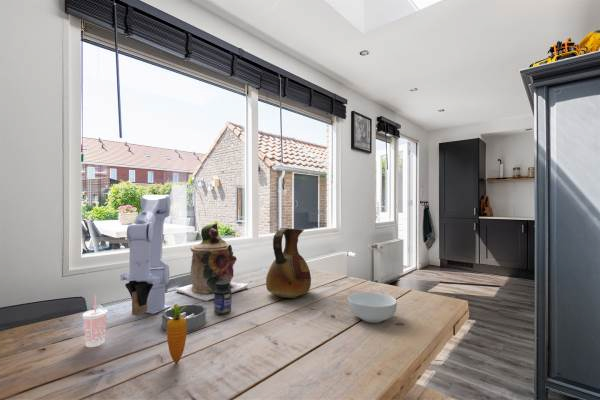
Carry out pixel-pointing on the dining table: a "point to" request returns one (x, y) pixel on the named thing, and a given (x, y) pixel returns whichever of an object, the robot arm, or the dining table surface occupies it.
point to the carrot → (176, 333)
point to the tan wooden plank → (137, 305)
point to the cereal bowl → (372, 306)
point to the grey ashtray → (188, 316)
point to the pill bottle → (222, 298)
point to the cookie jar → (211, 265)
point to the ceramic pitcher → (288, 266)
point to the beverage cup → (95, 326)
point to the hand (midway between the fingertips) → (139, 304)
